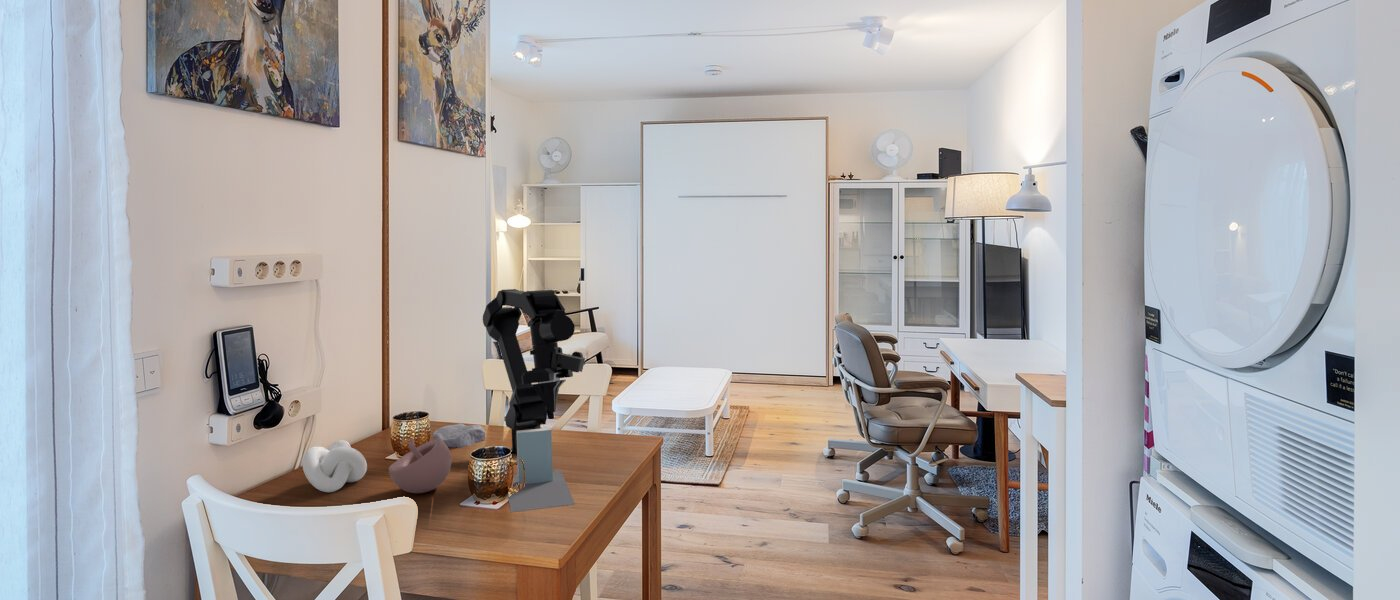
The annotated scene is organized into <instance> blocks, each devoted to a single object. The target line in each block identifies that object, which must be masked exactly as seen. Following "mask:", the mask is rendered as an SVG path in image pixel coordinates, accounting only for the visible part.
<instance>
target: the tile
mask: <svg viewBox="0 0 1400 600" xmlns="http://www.w3.org/2000/svg"><path fill="white" fill-rule="evenodd" d="M516 432H517V453H516V455H517V456H516V457H517V458H516V460H517V461H518V462H517V474H518V483H519V485H520V484H522V482H523V464H522V462H521V461H519V460H520V459H522V460H523V462H524V468H525V484H530V483H539V482H548V481H553V445H552V444H553V443H552V442H553V441H552V440H553V439H552V437H553V436H552V429H551V427H543V428H541V427H540V429H530V430H519V431H516Z"/></svg>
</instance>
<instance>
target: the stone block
mask: <svg viewBox="0 0 1400 600" xmlns="http://www.w3.org/2000/svg"><path fill="white" fill-rule="evenodd" d="M432 433H433V434H432V438H433V440H434V439H438V438H440V439H442V440H443V441H444V443H445V444H446V445H447V447H448V448H456V447H457V448H460V449H461V448H465V447H469V446H472V445H474V444H478V443H481V442H483V441H485V440H486V431H485V429H484V427H483V426H481V425H480V424H472V425H466V424H464V422H458V423H456V424H452V425H445V426H442V427H440V428H438V429H436V430H435V431H434V432H432ZM457 448H456V449H457Z"/></svg>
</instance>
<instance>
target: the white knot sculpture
mask: <svg viewBox="0 0 1400 600" xmlns="http://www.w3.org/2000/svg"><path fill="white" fill-rule="evenodd" d="M301 463H302V464H301V465H302V470H303V473H304V475H305V477H306V479H307V481H308V482H309V484H311V485H312V487H314V488H315V489H317V490H318V491H321V492H324V493H334V492H337V491H338V490H340V489H341V488H342V487H343V486H344V485H345V484H346V483H355V482H357V481H360V480H361V479H363V478H364V476H365V474H367V470H368V464H367V460H366V458H365V456H364V455H363V454H362V453H361V452H360V451H359V450H358V449H356V448H353V447H351V445H350V443H349V442H348V441H347V440H344V439H339V440H336V441H334V442H333V443H331V445H329V447H328V448H326V447H324V446H312V447H311V448H308V449H307V450H306V451H305V453H304V454H303V456H302V460H301Z"/></svg>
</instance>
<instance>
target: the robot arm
mask: <svg viewBox="0 0 1400 600" xmlns="http://www.w3.org/2000/svg"><path fill="white" fill-rule="evenodd" d="M495 296H496V297H494V298H493V299H492V300H491V301H490V302H489V303H487V305H486V306H485V309H484V312H483V314H482V323H483V327H485V329H486V331H487V333H488V336H489V337H490V338H492V339H493V340H494V341H496V343H498V348H499V351H500V354H501V358H502V361H503V365H504V367H505V371H506V374H507V377H508V381H509V384H510V388H511V391H512V394H511V396H510V400H509V404H508V405H509V408H508V410H507V412H506V415H505V416H504V421H505V426H506V427H507V428H508V429H510V430H511V450H512V452H514V453H513V454H517V432H516V431H519V430H530V429H541V426H542V425H544V426H545V425H546V424H547V418H548V412H549V413H551V414H553V413H555V412H556V408H557V403H558V396H559V391H560V390H559V389H560V387H561V386H562V385H564V383H565V382H566V379H564V378H572V377H574V373H582V372H583V369H584V366H585V365H586V361H585V360H586V358H585V357H584V355H583V352H580V351H574V352H573V353H572V354H569V353H568V354H567V353H563V349H562V348H561V347H562V346H559V345H558V342H563V341H568V340H570V339H571V337H573V335H574V334H575V323H574V322H573V320H572V318H570V316H569V315H567V314H566V308H565V307H564V306H563V304H562V303H561V301H560V299H559V297H558V295H557V294H556V292H555V291H554V290H553V289H540V290H526V291H523V290H519V289H516V288H514V289H513V288H512V289H511V288H510V289H501V290H498V292H497V295H495ZM503 306H506V307H503ZM522 313H523V314H525V315H526V316H527V317H529V319H530V320H529V321H528V322H527V327H528V328H529V329H530V337H531V345H532V347H531V348H532V349H531V350H529V355H530V356H532V357H533V363H534V364H533V365H534V367H532V368H531V370H527V369H528V368H527V365H526V363H525V359H524V357H523V352H522V350H521V346H520V344H519V340H518V337H517V332H518V329H519V326H520V319H521V316H522Z"/></svg>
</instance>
